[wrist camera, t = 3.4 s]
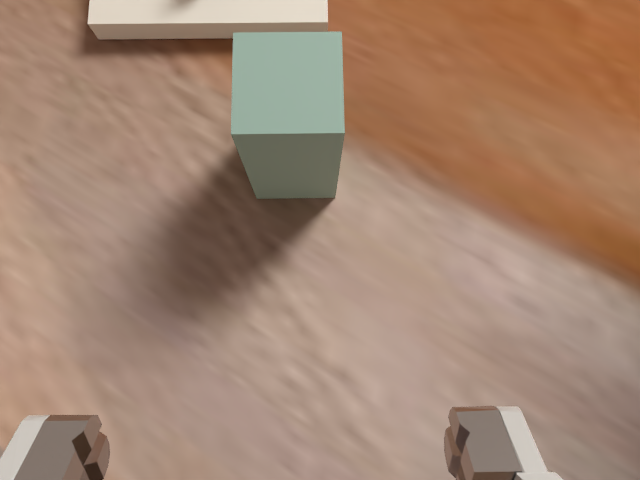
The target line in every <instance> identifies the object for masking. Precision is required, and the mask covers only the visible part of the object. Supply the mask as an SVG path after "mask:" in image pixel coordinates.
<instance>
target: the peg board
mask: <svg viewBox="0 0 640 480" xmlns="http://www.w3.org/2000/svg"><path fill="white" fill-rule="evenodd" d="M88 25H89V27H90V28H91V30H92V31H93V32H94V34H95V35H96V37H97V38H98V39H213V38H233V33H237V32H328V3H327V0H90V2H89V13H88Z"/></svg>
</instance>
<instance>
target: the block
mask: <svg viewBox="0 0 640 480" xmlns="http://www.w3.org/2000/svg"><path fill="white" fill-rule="evenodd" d="M344 134H345V127H344V93H343V59H342V32H237V33H233V63H232V112H231V135H232V138H233V140H234V143H235V145H236V148H237V150H238V153H239V155H240V158H241V160H242V163H243V166H244V168H245V171H246V173H247V176H248V178H249V181H250V183H251V186H252V188H253V191H254V193H255V196H256V198H257V199H281V198H335V195H336V189H337V182H338V175H339V168H340V161H341V155H342V148H343V141H344Z"/></svg>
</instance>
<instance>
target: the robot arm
mask: <svg viewBox="0 0 640 480" xmlns="http://www.w3.org/2000/svg"><path fill="white" fill-rule="evenodd" d="M448 418H449V421H450V425H451V426H450V427H448V428H447V429H446V431H445V437H444V451H445V457H446V463H447V467H448V471H449V472H450V473H451V474H452V475H453V476H454V477H455V478H456V480H564V479H562V478H561V477H560V476H559V475H558V474H557V473H555V472H548V470H547V468H546V466H545V463H544V461H543V459H542V457H541V454H540V452H539V450H538V447H537V445H536V443H535V441H534V438H533V436H532V434H531V431H530V429H529V427H528V425H527V422H526V420H525V418H524V415H523V413H522V411H521V409H520V408H519V407H518V406H498V407H494V406H477V407H452V409H451V410H450V413H449V417H448ZM101 425H102V423H101V421H100V419H99V417H98V415H28V416H27V417H26V418H25V419H24V420H23V421H22V422H21V423H20V425H19V426H18V428H17V430H16V432H15V433H14V435H13V437H12V439H11V440H10V442H9V444H8V446H7V447H6V449H5V451H4V453H3V454H2V456H1V458H0V480H103V479H104V476H105V473H106V471H107V468H108V463H109V456H110V447H109V441H108V439H107V436H105V435H104V434H102V433H101V432H99V430H100V428H101Z"/></svg>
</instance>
